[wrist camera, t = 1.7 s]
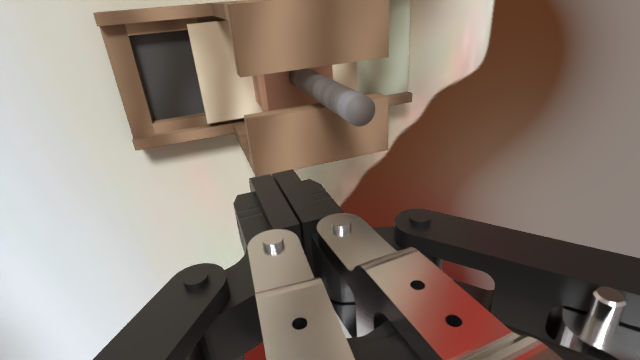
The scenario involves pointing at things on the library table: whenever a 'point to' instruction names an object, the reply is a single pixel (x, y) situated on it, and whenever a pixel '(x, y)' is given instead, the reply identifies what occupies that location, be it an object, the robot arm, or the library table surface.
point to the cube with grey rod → (269, 82)
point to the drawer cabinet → (261, 73)
